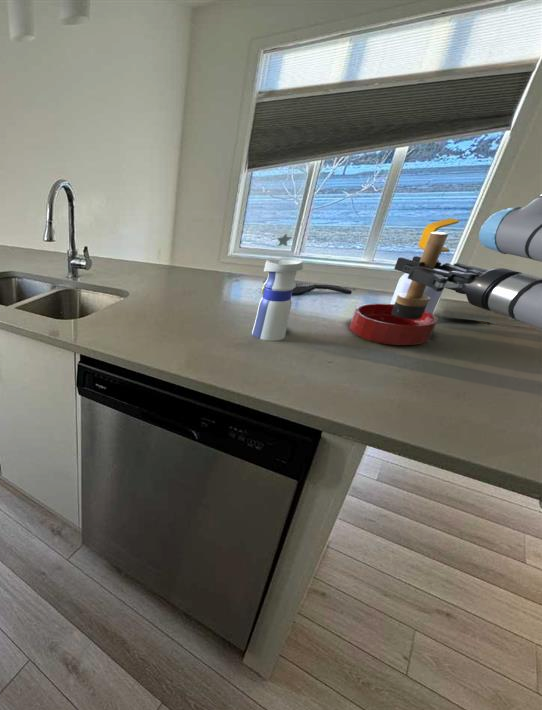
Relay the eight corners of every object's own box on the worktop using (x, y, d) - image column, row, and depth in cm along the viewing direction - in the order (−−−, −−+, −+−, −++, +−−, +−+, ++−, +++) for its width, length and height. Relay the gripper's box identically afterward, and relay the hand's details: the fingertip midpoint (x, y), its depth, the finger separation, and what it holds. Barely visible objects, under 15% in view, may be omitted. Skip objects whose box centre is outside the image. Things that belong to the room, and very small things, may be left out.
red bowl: (424, 328, 102) (433, 307, 99) (431, 352, 91) (441, 330, 89) (349, 319, 110) (355, 300, 107) (347, 341, 100) (355, 320, 97)
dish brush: (420, 312, 96) (455, 231, 87) (423, 320, 92) (459, 236, 83) (390, 309, 99) (421, 230, 90) (391, 317, 95) (423, 235, 86)
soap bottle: (437, 322, 104) (483, 222, 92) (395, 321, 107) (434, 223, 94) (419, 310, 112) (459, 215, 99) (380, 309, 114) (414, 217, 102)
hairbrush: (357, 288, 122) (265, 282, 130) (353, 300, 124) (262, 293, 132) (350, 280, 129) (262, 275, 137) (346, 292, 131) (260, 286, 139)
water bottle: (242, 331, 109) (260, 235, 97) (270, 326, 111) (291, 231, 98) (263, 343, 102) (286, 241, 90) (293, 337, 103) (319, 236, 91)
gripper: (454, 315, 77) (365, 281, 97) (540, 308, 76) (433, 275, 97) (472, 276, 73) (376, 249, 94) (563, 269, 73) (446, 243, 93)
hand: (405, 262), depth 95 cm, fingers closed on dish brush, 3 cm apart
